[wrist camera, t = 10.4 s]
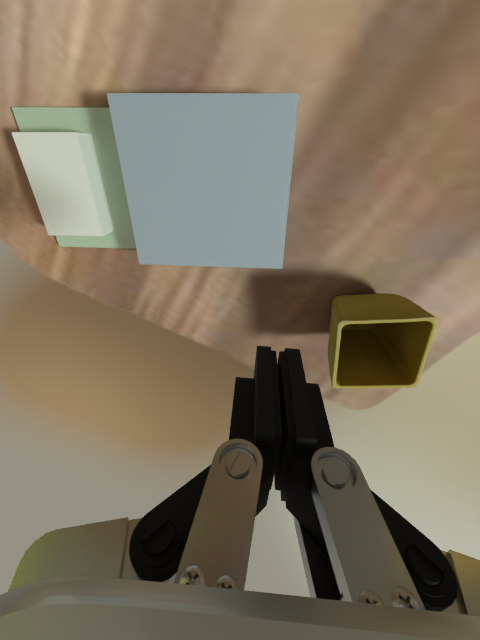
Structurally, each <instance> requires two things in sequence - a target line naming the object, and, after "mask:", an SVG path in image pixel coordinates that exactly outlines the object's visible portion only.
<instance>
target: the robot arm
mask: <svg viewBox="0 0 480 640" xmlns="http://www.w3.org/2000/svg"><path fill="white" fill-rule="evenodd" d="M274 476H275V489H276V490H281V500H282V501H286V508H287V509H288V510H289V511H290V512H291V513H292V515H293V516H294V523H295V528H296V533H297V537H298V541H299V546H300V550H301V555H302V560H303V565H304V569H305V574H306V578H307V583H308V587H309V592H310V597H311V598H309V597H301V596H291V595H282V594H272V593H262V592H254V591H244V587H245V581H246V574H247V567H248V561H249V554H250V548H251V541H252V534H253V528H254V521H255V517H256V516H257V515H258V514H259V512H260V511H261V510H262V509H263V508H264V507H265V506H266V504H267V500H268V495H269V490H270V489H271V486H272V482H273V477H274ZM0 640H480V560H477V559H475V558H472V557H469V556H466V555H463V554H461V553H458V552H455V551H452V550H449V551H448V552H445V551H441V550H440V549H439V548H438V547H437V546H436V545H435V544H434V543H433V542H431V541H430V540H429V539H428V538H427V537H425V535H423V534H422V533H421V532H420V531H419V530H417V529H416V528H415V527H414V526H413V525H412V524H410V523H409V522H408V521H407V520H406V519H404V518H403V517H402V516H401V515H400V514H399V513H397V512H396V511H395V510H394V509H393V508H392V507H390V506H389V505H388V504H387V503H386V502H384V501H383V500H382V499H381V498H379V497H378V496H377V495H376V494H375V493H374V492H372V491H371V490H370V488H369V486H368V484H367V482H366V480H365V477H364V475H363V473H362V471H361V469H360V467H359V466H358V464H357V462H356V461H355V460H354V459H353V458H352V457H351V456H350V455H349V454H347V453H346V452H344V451H343V450H340V449H338V448H335V447H334V444H333V440H332V436H331V432H330V428H329V424H328V420H327V416H326V412H325V408H324V404H323V400H322V396H321V392H320V388H319V385H318V384H311V383H306V379H305V374H304V369H303V364H302V359H301V354H300V350H299V349H290V348H285V351H284V352H282V351H280V352H279V358H278V364H277V358H276V351H271V347H265V346H257V352H256V361H255V371H254V379H252V378H240V377H236V381H235V391H234V399H233V409H232V417H231V426H230V436H229V440H228V441H226V442H224V443H223V444H221V446H220V447H219V448H218V449H217V451H216V453H215V455H214V458H213V461H212V464H211V465H210V466H209V467H207V468H206V469H205V470H203V471H202V472H201V473H199V474H198V475H197V476H196V477H194V478H193V479H192V480H190V481H189V482H188V483H187V484H185V485H184V486H182V487H181V488H180V489H178V490H177V491H176V492H175V493H173V494H172V495H171V496H170V497H168V498H167V499H165V500H164V501H163V502H162V503H160V504H159V505H158V506H156V507H155V508H154V509H152V510H151V511H150V512H148V513H147V514H146V515H145V516H144V517H143V518H140V519H134V520H129V519H128V517H127V518H122V519H116V520H110V521H104V522H98V523H92V524H86V525H80V526H75V527H68V528H63V529H57V530H54V531H51V532H48V533H46V534H44V535H43V536H41V537H40V538H39V539H37V540H36V541H35V542H34V543H33V544H32V545H31V546H30V547H29V548H28V550H27V551H26V552H25V554H24V556H23V557H22V559H21V561H20V563H19V565H18V567H17V570H16V573H15V575H14V578H13V580H12V583H11V585H10V588H9V590H8V592H7V593H4V594H1V595H0Z"/></svg>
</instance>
